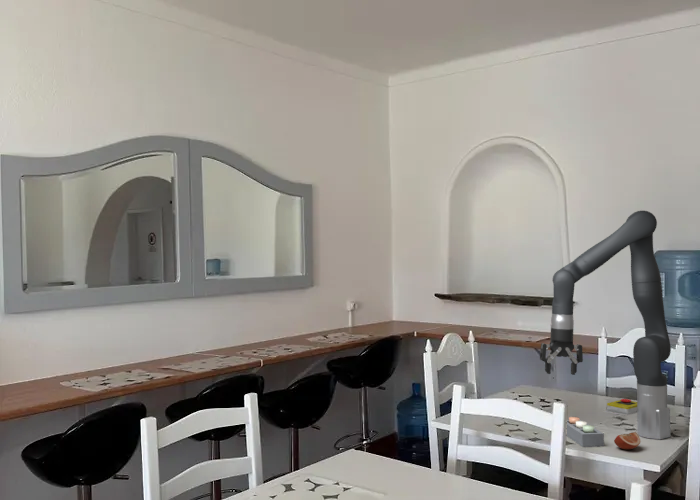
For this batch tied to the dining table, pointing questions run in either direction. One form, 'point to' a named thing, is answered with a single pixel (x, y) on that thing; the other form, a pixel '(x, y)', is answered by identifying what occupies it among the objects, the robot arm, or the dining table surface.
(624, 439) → the fruit slice
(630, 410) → the emergency button
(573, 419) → the terracotta button
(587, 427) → the sage button
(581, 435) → the console
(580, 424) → the cream button
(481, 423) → the dining table surface
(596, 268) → the robot arm
